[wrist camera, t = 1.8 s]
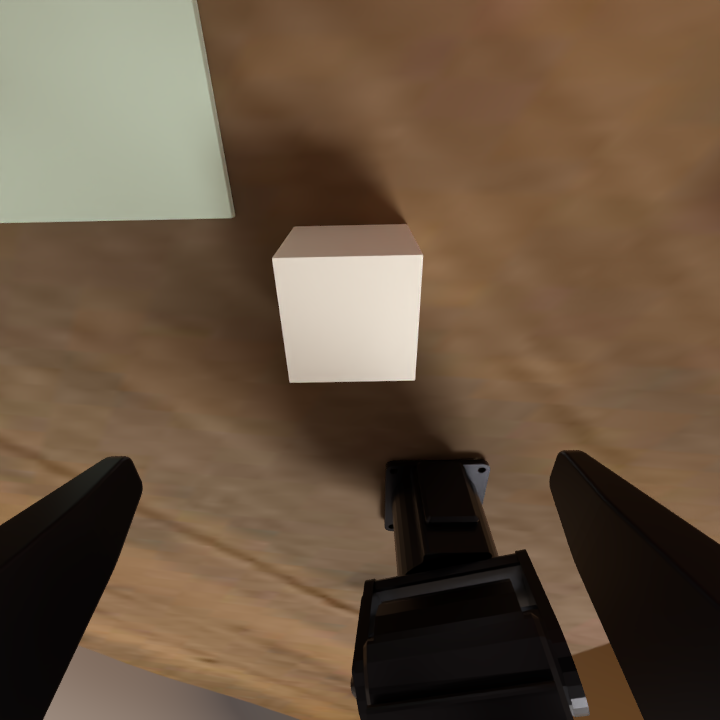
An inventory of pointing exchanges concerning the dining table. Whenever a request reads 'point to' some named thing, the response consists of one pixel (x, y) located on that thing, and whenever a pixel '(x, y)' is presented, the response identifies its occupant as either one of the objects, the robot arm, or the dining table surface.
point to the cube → (349, 302)
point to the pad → (108, 113)
